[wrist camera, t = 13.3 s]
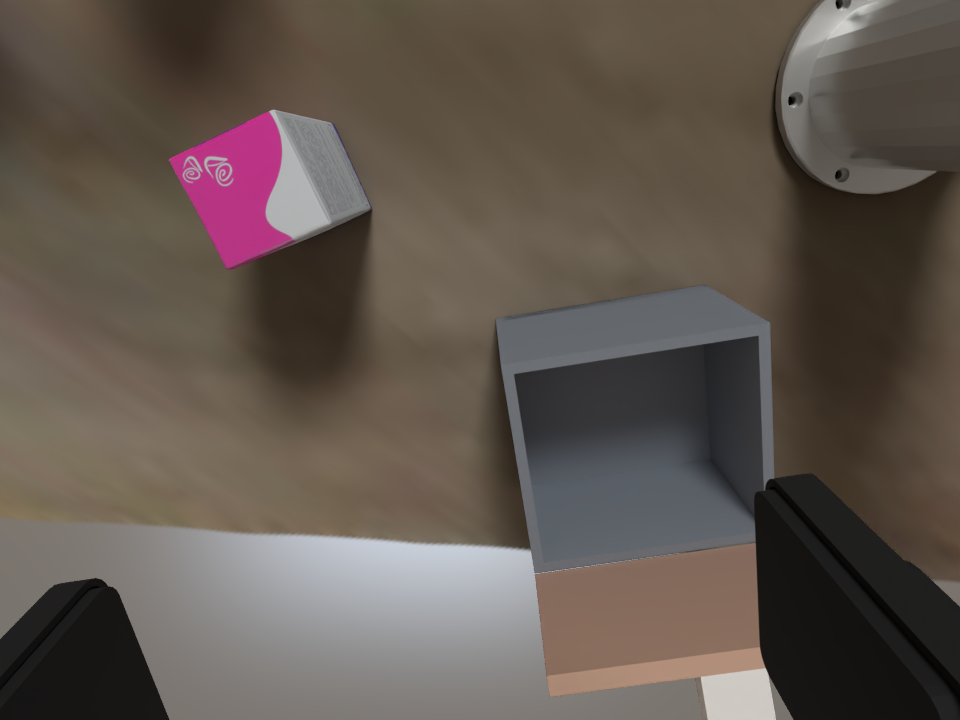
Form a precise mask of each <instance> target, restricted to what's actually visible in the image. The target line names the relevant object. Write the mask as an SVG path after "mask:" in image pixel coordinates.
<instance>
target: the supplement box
mask: <svg viewBox="0 0 960 720" xmlns="http://www.w3.org/2000/svg"><path fill="white" fill-rule="evenodd" d="M169 161H170V163H171V165H172V167H173V169H174V171H175V173H176V174H177V176H178V178H179V180H180V182H181V184H182V186H183V187H184V189H185V191H186V193H187V194H188V196H189V198H190V200H191V201H192V203H193V205H194V207H195V209H196V211H197V213H198V215H199V217H200V219H201V221H202V223H203V225H204V227H205V228H206V230H207V232H208V234H209V236H210V238H211V240H212V242H213V244H214V246H215V248H216V250H217V252H218V254H219V255H220V257H221V259H222V261H223V263H224V265H225V267H226V269H228V270H229V269H234V268H237V267H239V266H242V265H244V264H247V263H249V262H251V261H254V260H256V259H259V258H261V257H263V256H266V255H268V254H271V253H273V252H276V251H278V250H280V249H283V248H286V247H288V246H291V245H294V244H296V243H299V242H301V241H304V240H306V239H309V238H311V237H313V236H316V235H318V234H320V233H323V232H325V231H327V230H330V229H332V228H334V227H337V226H339V225H341V224H343V223H345V222H347V221H349V220H352V219H354V218H356V217H358V216H360V215H362V214H364V213H366V212H368V211H370V210H372V207H371V205H370V202H369V200H368V198H367V196H366V194H365V191H364V189H363V187H362V185H361V183H360V181H359V178H358V176H357V174H356V172H355V169H354V167H353V165H352V163H351V161H350V158H349V156H348V154H347V152H346V149H345V147H344V145H343V143H342V141H341V138H340V136H339V134H338V132H337V130H336V127H335V126H334V124H333V123H329V122H325V121H321V120H317V119H312V118H308V117H303V116H299V115H295V114H290V113H286V112H281V111H278V110H271V111H269V112H267V113H264V114H262V115H260V116H258V117H256V118H254V119H252V120H249V121H247V122H245V123H243V124H241V125H239V126H237V127H235V128H233V129H231V130H228V131H226V132H224V133H222V134H220V135H218V136H216V137H214V138H212V139H210V140H208V141H206V142H204V143H201V144H199V145H197V146H195V147H193V148H191V149H189V150H187V151H185V152H183V153H180V154H178V155H176V156H174V157H172V158H170V159H169Z"/></svg>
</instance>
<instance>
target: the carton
mask: <svg viewBox="0 0 960 720" xmlns="http://www.w3.org/2000/svg"><path fill="white" fill-rule="evenodd" d="M496 327H497V335H498V344H499V353H500V362H501V369H502V375H503V381H504V387H505V393H506V400H507V406H508V412H509V418H510V424H511V430H512V436H513V442H514V449H515V455H516V461H517V467H518V473H519V479H520V485H521V491H522V498H523V504H524V510H525V516H526V522H527V528H528V534H529V540H530V546H531V553H532V559H533V565H534V571H535V573H541V572H548V571H555V570H562V569H569V568H576V567H583V566H590V565H596V564H604V563H611V562H617V561H625V560H632V559H639V558H646V557H652V556H659V555H667V554H674V553H681V552H688V551H695V550H702V549H709V548H716V547H723V546H730V545H737V544H744V543H751V542H756V540H755V515H754V496H755V493H756V492H757V491H764V490H765V486H766V483H767V481H768V480H769V479H774V447H773V411H772V376H771V340H770V322H768V321H766V320H765V319H763V318H761V317H760V316H758V315H756V314H754V313H753V312H751V311H749V310H748V309H746V308H744V307H742V306H741V305H739V304H737V303H736V302H734V301H732V300H730V299H729V298H727V297H725V296H724V295H722V294H720V293H718V292H717V291H715V290H713V289H712V288H710V287H708V286H706V285H701V286H695V287H689V288H682V289H676V290H670V291H664V292H658V293H651V294H645V295H639V296H633V297H627V298H620V299H614V300H608V301H602V302H596V303H589V304H583V305H577V306H571V307H565V308H558V309H552V310H546V311H540V312H534V313H527V314H521V315H515V316H509V317H503V318H496Z"/></svg>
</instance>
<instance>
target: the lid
mask: <svg viewBox="0 0 960 720" xmlns="http://www.w3.org/2000/svg"><path fill="white" fill-rule="evenodd" d="M535 578H536V587H537V595H538V604H539V614H540V622H541V631H542V640H543V648H544V658H545V666H546V675H547V682H548V688H549V694H550V697H554V696H562V695H569V694H576V693H584V692H591V691H599V690H606V689H613V688H621V687H629V686H636V685H643V684H651V683H658V682H665V681H674V680H681V679H688V678H695V679H696V685H697V691H698V697H699V702H700V709H701V715H702V720H776V717H775V711H774V705H773V700H772V694H771V688H770V682H769V677H768V672H767V670H766V668H765V665H764V662H763V659H762V655H761V651H760V641H759V616H758V591H757V565H756V543H751V544H744V545H737V546H730V547H723V548H716V549H709V550H702V551H695V552H688V553H681V554H674V555H667V556H660V557H653V558H646V559H639V560H633V561H625V562H619V563H611V564H605V565H597V566H590V567H583V568H577V569H570V570H563V571H555V572H548V573H541V574H535Z"/></svg>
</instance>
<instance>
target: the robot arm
mask: <svg viewBox="0 0 960 720" xmlns="http://www.w3.org/2000/svg"><path fill="white" fill-rule="evenodd" d="M836 1H837V2H838V3H839V7H838V9H837V8H836V4H835V3H836ZM789 97H791V98H792V103H791V105H789V104H788V98H789ZM775 109H776V115H777V121H778V127H779V131H780V133H781V136H782V139H783V141H784V144H785V147H786V148H787V150H788V152H789V153H790V155H791V156H792V158H793V159H794V161H795V162H796V164H797V165H798V166H799V167H800V168H801V169H803V170H804V171H805V172H806V173H807V174H808V175H809V176H810V177H812V178H813V179H815V180H817V181H818V182H820V183H821V184H823V185H825V186H828V187H831V188H833V189H836V190H839V191H844V192H850V193H856V194H881V193H887V192H893V191H897V190H900V189H903V188H906V187H909V186H911V185H914V184H917V183H918V182H920V181H922V180H924V179H926V178H927V177H929V176H931V175H933V174H935V173H936V172H937V171H950V172H960V0H821V1H819V2H818V3H817V4H816V5H815V6H814V7H813V8H812V10H811V11H810V12H809V13H808V15H807V16H806V17H805V18H804V20H803V21H802V22H801V23H800V25H799V26H798V28H797V30H796V32H795V33H794V35H793V37H792V39H791V40H790V42H789V44H788V46H787V49H786V52H785V54H784V57H783V60H782V62H781V65H780V69H779V74H778V79H777V84H776V105H775ZM836 172H838V176H837V177H836V178H835V174H836ZM754 515H755V540H756V565H757V591H758V616H759V641H760V651H761V655H762V659H763V662H764V665H765V668H766V670H767V672H768V674H769V676H770V678H771V680H772V682H773V683H774V685H775V687H776V689H777V690H778V693H779V694H780V696H781V698H782V700H783V701H784V703H785V705H786V707H787V709H788V710H789V712H790V714H791V716H792V717H793V719H794V720H960V607H959V606H958V605H957V604H956V603H955V602H954V601H953V600H952V599H951V598H950V597H949V596H948V595H947V594H946V593H945V592H943V591H942V590H941V589H940V588H939V587H938V586H937V585H936V584H935V583H934V582H933V581H932V580H931V579H930V578H929V577H928V576H927V575H925V574H924V573H923V572H922V571H921V570H920V569H919V568H917V567H916V566H915V565H913V564H912V563H911V562H908V561H904V560H903V559H902V558H901V557H900V556H899V555H898V554H896V553H895V552H894V551H893V550H892V549H891V548H890V547H889V546H888V545H887V544H886V543H885V542H884V541H883V540H882V539H881V538H880V537H879V536H878V535H877V534H876V533H875V532H874V531H872V530H871V529H870V528H869V527H868V526H867V525H866V524H865V523H864V522H863V521H862V520H861V519H860V518H859V517H858V516H857V515H856V514H855V513H854V512H853V511H852V510H851V509H850V508H848V507H847V506H846V505H845V504H844V503H843V502H842V501H841V500H840V499H839V498H838V497H837V496H836V495H835V494H834V493H833V492H832V491H831V490H830V489H829V488H828V487H827V486H826V485H824V484H823V483H822V482H821V481H820V480H819V479H818V478H817V477H816V476H814V475H813V474H801V475H794V476H787V477H780V478H774V479H769V480H768V481H767V483H766V486H765V490H764V491H757V492H756V493H755V496H754ZM0 720H169V718H168V715H167V713H166V710H165V708H164V705H163V703H162V700H161V698H160V695H159V693H158V690H157V688H156V685H155V683H154V681H153V678H152V675H151V673H150V671H149V668H148V665H147V663H146V660H145V658H144V655H143V653H142V650H141V648H140V645H139V643H138V640H137V638H136V636H135V633H134V630H133V628H132V625H131V623H130V620H129V618H128V615H127V613H126V610H125V608H124V605H123V603H122V600H121V598H120V595H119V594H118V592H117V590H116V589H114V588H113V587H108V586H107V584H106V583H105V582H104V581H103V580H101V579H97V578H94V579H87V580H80V581H74V582H67V583H61V584H57V585H54V586H53V587H52V588H50V589H49V590H48V591H47V592H46V593H45V594H44V595H43V596H42V597H41V598H40V599H39V600H38V601H37V602H36V603H35V604H34V605H33V606H32V607H31V608H30V609H29V610H28V611H27V612H26V613H25V614H24V615H23V616H22V618H20V620H19V621H18V622H17V623H16V624H15V625H14V626H13V627H12V628H11V629H10V630H9V631H8V632H7V633H6V634H5V635H4V636H3V637H2V638H1V639H0Z"/></svg>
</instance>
